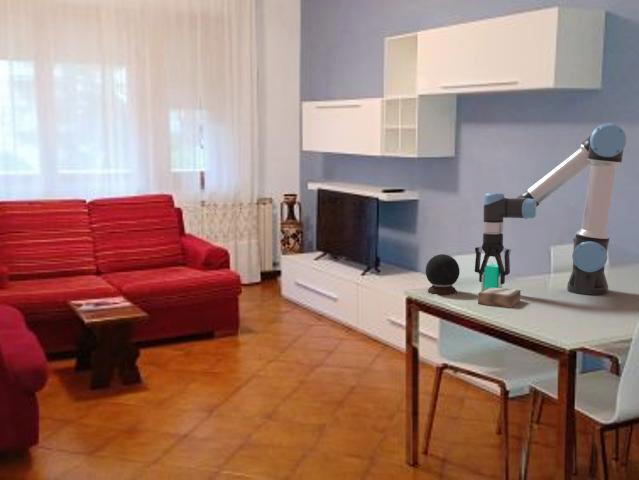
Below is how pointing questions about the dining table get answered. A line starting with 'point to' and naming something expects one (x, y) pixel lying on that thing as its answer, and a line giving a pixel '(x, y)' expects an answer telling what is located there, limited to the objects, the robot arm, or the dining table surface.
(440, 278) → the smart speaker
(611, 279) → the dining table surface
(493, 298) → the plinth
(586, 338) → the dining table surface
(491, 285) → the candle
